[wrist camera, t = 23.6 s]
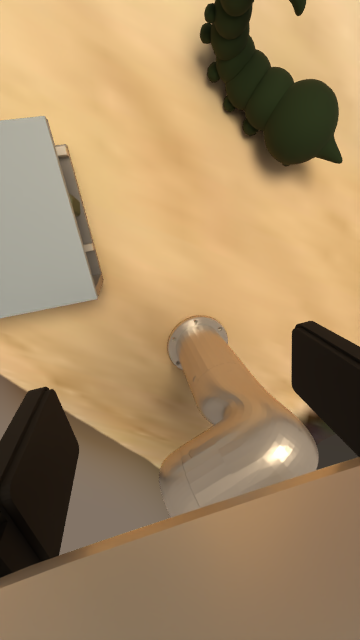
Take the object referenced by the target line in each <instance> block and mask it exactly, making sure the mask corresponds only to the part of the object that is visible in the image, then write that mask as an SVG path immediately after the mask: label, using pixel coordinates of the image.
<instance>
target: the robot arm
mask: <svg viewBox="0 0 360 640" xmlns="http://www.w3.org/2000/svg"><path fill="white" fill-rule="evenodd" d="M194 320H195V321H194ZM168 353H169V356H170V359H171V361H172V362H173V363H174V364H175V365H176V366H177V367H178V368H180V369H181V370H183V371H184V374H185V376H186V379H187V381H188V384H189V387H190V389H191V392H192V394H193V397H194V399H195V402H196V404H197V407H198V409H199V411H200V412H201V414H202V415H203V416H204V417H205V418H206V419H207V420H208V421H209V422H210V423H212V424H213V426H212V427H211V428H209V429H208V430H206V431H205V432H203V433H201V434H200V435H198V436H197V437H195V438H194V439H192V440H190V441H189V442H187V443H186V444H184V445H183V446H181V447H180V448H178V449H177V450H175V451H174V452H172V453H171V454H170V455H169V456H168V457H167V458H166V459H165V460H164V462H163V463H162V465H161V468H160V472H159V483H160V489H161V493H162V497H163V499H164V503H165V505H166V508H167V510H168V513H169V515H170V517H171V518H169V519H166V520H163V521H160V522H157V523H154V524H151V525H148V526H145V527H142V528H139V529H136V530H133V531H130V532H126V533H123V534H121V535H117V536H114V537H111V538H109V539H105V540H103V541H100V542H96V543H94V544H91V545H88V546H85V547H82V548H79V549H76V550H74V551H71V552H68V553H65V554H62V555H60V556H59V552H60V547H61V542H62V536H63V532H64V526H65V521H66V516H67V511H68V506H69V501H70V496H71V491H72V486H73V480H74V475H75V470H76V464H77V459H78V454H79V445H78V442H77V440H76V437H75V435H74V433H73V431H72V428H71V426H70V424H69V421H68V419H67V417H66V415H65V412H64V410H63V408H62V406H61V403H60V401H59V399H58V397H57V394H56V392H55V391H54V390H53V389H51V390H49V388H48V387H42V388H38V389H34V390H30V391H28V393H27V394H26V396H25V398H24V399H23V402H22V403H21V405H20V407H19V409H18V410H17V412H16V414H15V416H14V417H13V419H12V421H11V423H10V424H9V426H8V428H7V430H6V432H5V434H4V435H3V437H2V439H1V441H0V640H360V347H359V346H357V345H355V344H354V343H352V342H350V341H348V340H346V339H344V338H343V337H341V336H339V335H337V334H335V333H334V332H332V331H330V330H328V329H326V328H324V327H323V326H321V325H319V324H317V323H315V322H313V321H308V322H304V323H300V324H297V325H296V327H295V329H293V331H292V387H293V389H294V391H295V392H296V393H297V394H298V395H299V396H300V397H301V398H302V399H303V400H304V401H305V402H306V403H307V404H308V405H309V407H310V408H311V409H312V410H313V411H314V412H315V413H316V414H317V415H318V416H319V417H320V418H321V419H322V420H323V421H324V422H325V423H326V424H327V425H328V426H329V427H330V428H331V429H332V430H333V431H334V432H335V433H336V434H337V435H338V436H339V437H340V438H341V439H342V440H343V441H344V442H345V443H346V444H347V445H348V446H349V447H350V448H351V449H352V450H353V451H354V452H355V453H356V454H357V455H358V456H359V457H357V458H354V459H351V460H348V461H345V462H341V463H338V464H335V465H332V466H329V467H326V468H323V469H319V470H316V468H317V465H318V459H319V458H318V450H317V446H316V443H315V441H314V439H313V437H312V436H311V434H310V432H309V431H308V430H307V428H306V427H305V426H304V425H303V423H302V422H301V421H300V420H299V419H298V418H297V417H296V416H295V415H294V414H293V413H292V412H291V411H289V410H288V409H287V408H286V407H285V406H283V405H282V404H281V403H280V402H278V401H277V400H276V399H275V398H274V397H273V396H271V395H270V394H269V393H268V392H267V391H266V390H265V389H264V388H263V387H262V386H261V385H260V383H259V382H258V381H257V380H256V379H255V378H254V376H253V375H252V374H251V373H250V371H249V370H248V369H247V368H246V367H245V365H244V364H243V363H242V362H241V360H240V359H239V358H238V357H237V355H236V354H235V353H234V352H233V350H232V349H231V348H230V347H229V346H228V337H227V333H226V331H225V329H224V327H223V326H222V325H221V324H220V323H219V322H218V321H217V320H215V319H213V318H211V317H208V316H194V317H190V318H187V319H185V320H184V321H182V322H181V323H179V324H178V325H177V326H176V327H175V328H174V329H173V331H172V333H171V334H170V337H169V340H168Z"/></svg>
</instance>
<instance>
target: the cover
mask: <svg viewBox="0 0 360 640" xmlns="http://www.w3.org/2000/svg"><path fill="white" fill-rule="evenodd" d="M95 299H98V294H97V291H96V287H95V284H94V280H93V277H92V273H91V270H90V266H89V263H88V259H87V256H86V252H85V249H84V245H83V242H82V238H81V235H80V231H79V228H78V224H77V221H76V218H75V214H74V211H73V207H72V204H71V200H70V197H69V193H68V190H67V186H66V183H65V179H64V176H63V172H62V169H61V165H60V162H59V158H58V155H57V151H56V148H55V144H54V141H53V137H52V134H51V130H50V127H49V123H48V120H47V119H46V117H45V116H39V117H30V118H20V119H11V120H1V121H0V318H5V317H10V316H15V315H20V314H25V313H30V312H35V311H40V310H45V309H50V308H55V307H60V306H65V305H70V304H75V303H80V302H85V301H90V300H95Z"/></svg>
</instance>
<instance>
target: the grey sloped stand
mask: <svg viewBox="0 0 360 640" xmlns="http://www.w3.org/2000/svg"><path fill="white" fill-rule="evenodd" d="M55 148H56V151H57V155H58V158H59V162H60V165H61V169H62V172H63V176H64V179H65V183H66V186H67V190H68V193H69V194H71V195H72V196H74V197H75V198H76V199H77V200H78V201H79V202H80V211H81V214H80V215H79V216H75V218H76V221H77V224H78V228H79V231H80V235H81V238H82V242H83V245H84V249H85V252H86V256H87V259H88V263H89V266H90V270H91V273H92V277H93V280H94V284H95V287H96V291H97V294H98V295H99V292H100V289H101V286H102V282H103V276H102V272H101V269H100V265H99V261H98V258H97V254H96V250H95V247H94V243H93V239H92V235H91V232H90V228H89V224H88V221H87V217H86V213H85V210H84V206H83V202H82V199H81V195H80V191H79V188H78V184H77V180H76V176H75V173H74V169H73V165H72V162H71V158H70V154H69V151H68V147H67V145H66V144H64V145H56V146H55Z"/></svg>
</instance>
